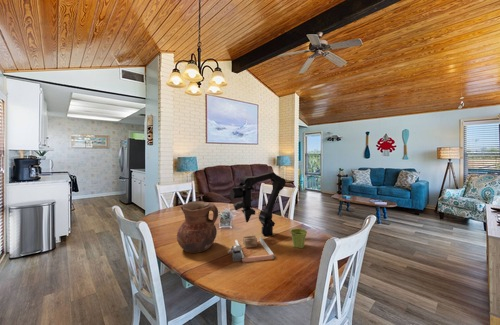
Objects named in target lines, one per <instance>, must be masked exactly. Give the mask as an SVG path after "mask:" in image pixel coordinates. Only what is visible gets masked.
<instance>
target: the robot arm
mask: <svg viewBox="0 0 500 325" xmlns="http://www.w3.org/2000/svg"><path fill="white" fill-rule="evenodd" d="M267 180H269V181H271V182H272V184H271V185H272V190H271V193H270V196H269V198H268V200H267V202H266V205H265V208H264V209H263V210H262V209H261V210H260V212H259V215H258V220H259V222H260V224H261V234H262V235H263V237H270V236H275V235H274V233H273V232H274V228H273V227H275V224H276V223H275V222H274V221H273V210H274V208H275V205H276V203H277V200H278V197H279V194H280V192H281V191H282V190H283V189H284V187H285V186H286V185H287V184H286V183H287V181H286V179H285V178H284V177H282V176H279V175H278V174H276V173H275V172H272V171H268V172H265V173H261V174H258V175H255V176H243V177H241V180H240V182H239V184H238V186H237V187H231V190H230V193H229V195H230V199H231V200H235V199H237V200H238V199H240V201H237V202H236V203H235V202H234V203H233V204H232V206H233V209H234V210H235V211H239V210H240V209H241V212H242V213H243V215H244V219H245V223H248V222H249V221H250V219H251V217H252V215H253V216H254V215H256V210H255V209H254V208H253V204H252V202H253V199H252V196H253V193H252V191H254V190H255V188H254V186H255V185H256V184H257V183H260V182H265V181H267ZM255 191H256V190H255Z"/></svg>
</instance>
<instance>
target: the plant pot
mask: <svg viewBox="0 0 500 325" xmlns="http://www.w3.org/2000/svg"><path fill="white" fill-rule="evenodd" d="M290 234H291V237H292V246H293V247H294V248H298V249H303V248H304V247H305V244H306V236H307V234H308V231H307V230H306V229H302V228H292V229H290Z"/></svg>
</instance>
